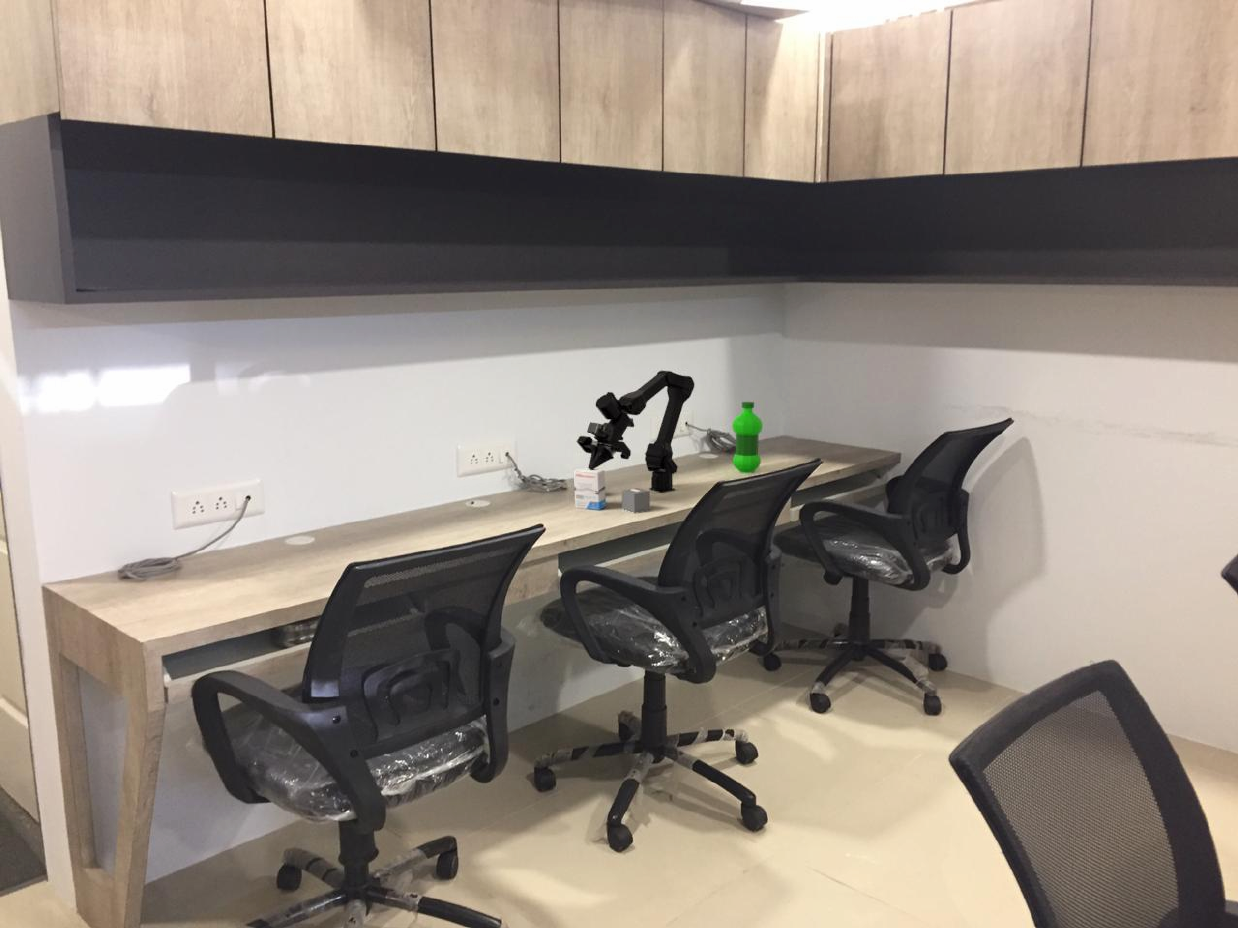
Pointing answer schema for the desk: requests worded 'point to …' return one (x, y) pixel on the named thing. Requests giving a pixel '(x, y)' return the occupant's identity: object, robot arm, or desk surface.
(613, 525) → the desk surface
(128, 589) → the desk surface
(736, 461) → the plastic bottle
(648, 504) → the marked block 2
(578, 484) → the ink box
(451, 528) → the desk surface
